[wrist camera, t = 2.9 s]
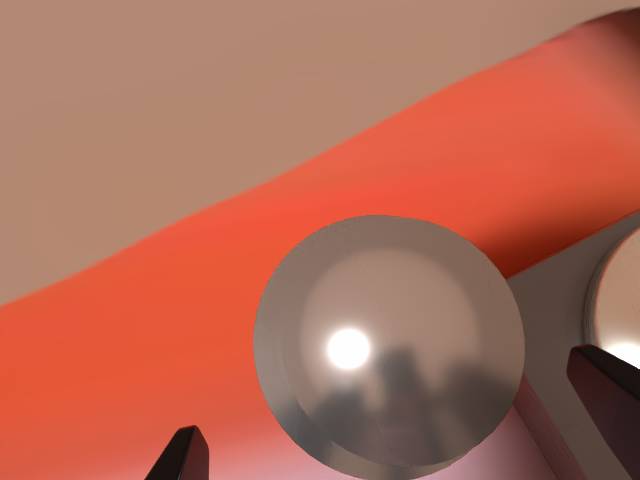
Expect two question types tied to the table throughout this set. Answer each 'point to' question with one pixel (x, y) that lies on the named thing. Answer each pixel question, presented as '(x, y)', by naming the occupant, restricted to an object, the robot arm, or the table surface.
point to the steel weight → (388, 346)
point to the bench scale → (577, 340)
